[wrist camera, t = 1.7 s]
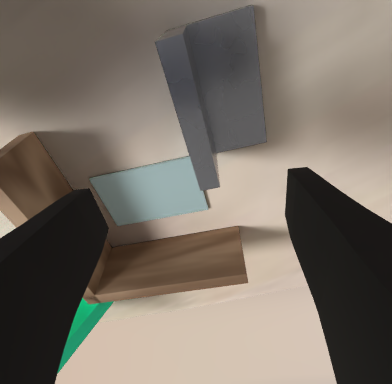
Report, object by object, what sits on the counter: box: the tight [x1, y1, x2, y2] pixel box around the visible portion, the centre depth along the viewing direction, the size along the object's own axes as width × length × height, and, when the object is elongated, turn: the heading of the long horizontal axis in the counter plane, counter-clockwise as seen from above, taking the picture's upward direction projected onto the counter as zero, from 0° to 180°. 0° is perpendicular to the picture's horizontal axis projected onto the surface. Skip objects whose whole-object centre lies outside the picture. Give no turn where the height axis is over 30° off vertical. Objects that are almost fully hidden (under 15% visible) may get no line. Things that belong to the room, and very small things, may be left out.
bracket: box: [155, 5, 267, 191], centre depth 15 cm, size 8×5×5 cm, turn 14°
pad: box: [89, 156, 208, 226], centre depth 22 cm, size 9×5×1 cm, turn 104°
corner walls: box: [0, 132, 248, 304], centre depth 19 cm, size 14×14×5 cm
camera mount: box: [58, 298, 113, 372], centre depth 25 cm, size 12×8×10 cm, turn 109°
